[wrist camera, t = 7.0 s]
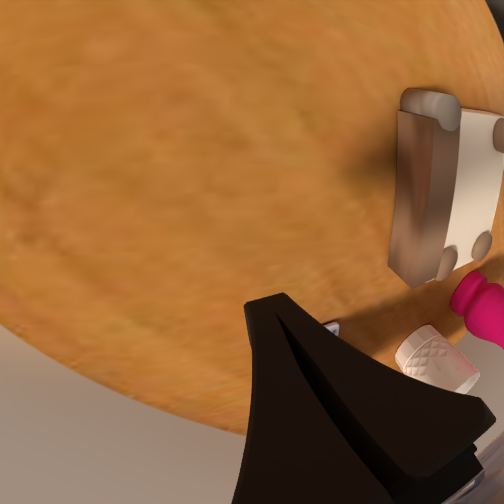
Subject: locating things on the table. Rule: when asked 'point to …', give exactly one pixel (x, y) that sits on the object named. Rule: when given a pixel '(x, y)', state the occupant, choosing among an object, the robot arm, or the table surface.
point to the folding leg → (424, 183)
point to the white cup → (435, 361)
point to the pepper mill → (481, 307)
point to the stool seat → (474, 190)
